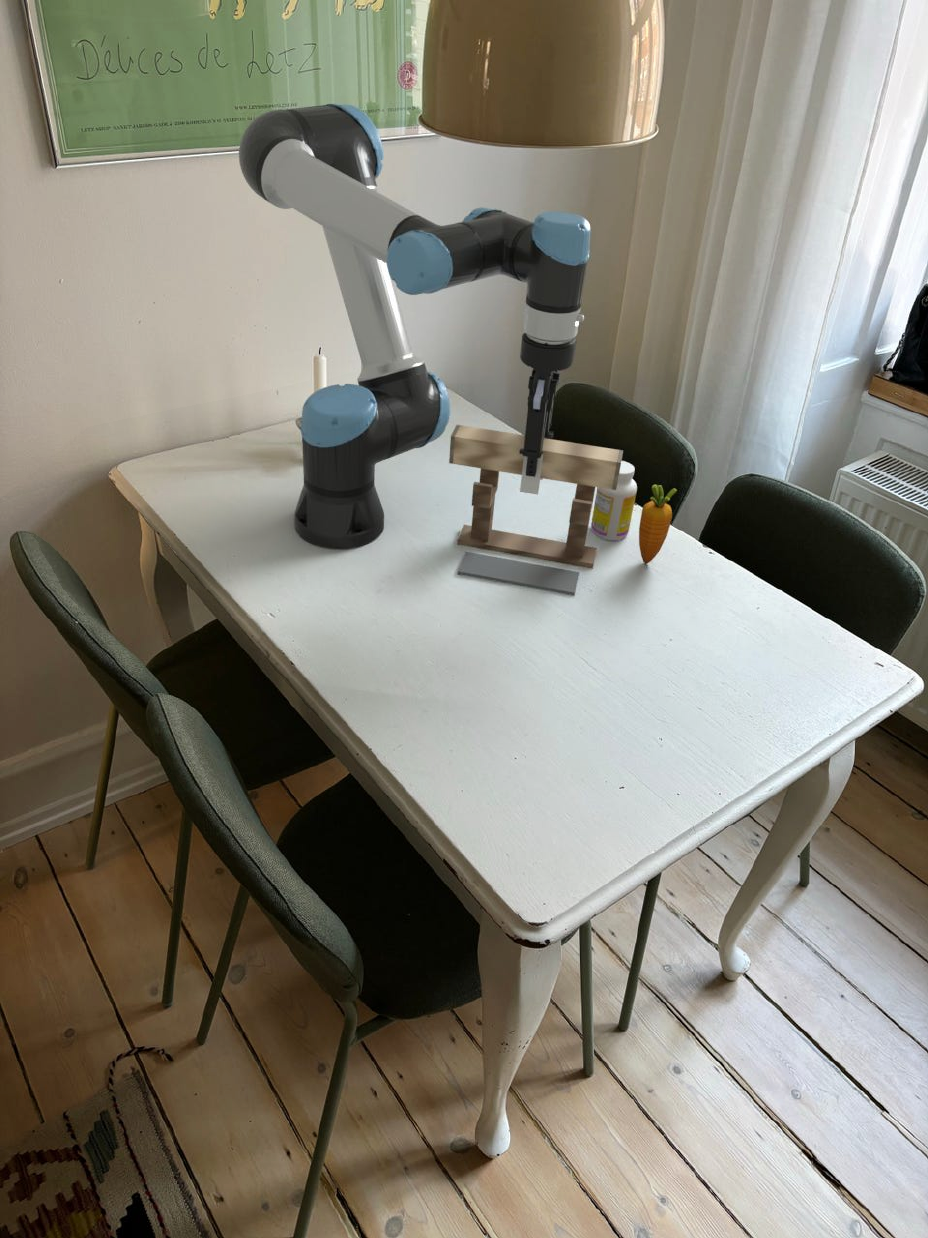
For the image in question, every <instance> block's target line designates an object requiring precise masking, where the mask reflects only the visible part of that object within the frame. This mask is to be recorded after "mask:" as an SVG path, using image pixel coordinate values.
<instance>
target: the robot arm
mask: <svg viewBox="0 0 928 1238" xmlns="http://www.w3.org/2000/svg"><path fill="white" fill-rule="evenodd" d="M242 134H243V135H242V136H241V139H240V141H239V148H238V149H239V150H238V160H239V162H238V163H239V167H240V170H241V173H242V176H243V178H244V180H245V181H246V183H247V184H248V186H249V187H250V189H252V191H253V192H254V194H257V195H258V196H259V197H260V198H261V199H263V200H264V201H266V202H268V203H269V204H271V205H272V206H274V207H277V208H279V209H282V210H287V209H293V210H295V211H297V212H299V214H302V215H304V216H305V217H307V218H309V219H310V220H312V221H313V222H315V223H317V224H319V225H320V226H322V230H323V233H324V236H325V241H326V244H327V247H328V251H329V254H330V258H331V262H332V264H333V268H334V272H335V275H336V278H337V282H338V285H339V289H340V293H341V296H342V299H343V302H344V307H345V309H346V313H347V316H348V320H349V323H350V327H351V331H352V333H353V338H354V341H355V344H356V347H357V351H358V355H359V358H360V362H361V364H362V368H361V369H362V370H361V372H360V374H359V375H358V377H357V379H356V381H357V384H353V383H345V384H344V385H343V384H342V385H340V384H338V383H337V384H332V385H328V386H326V387H322V388H320V389H318V390H316V391H315V392H313V393H312V394H311V395H310V396H308V397H307V399H306V400H305V402H304V403H303V406H302V411H301V422H300V433H301V437H302V469H303V470H302V472H303V486H302V489H301V492H300V494H299V497H298V500H297V503H296V506H295V508H294V530H295V531H296V533H297V534H298V535H299V537H301V539H302V540H305V541H306V542H308V543H310V544H313V545H315V546H319V547H321V548H328V549H338V550H339V549H353V548H358V547H361V546H366V545H368V544H369V543H371V542H373V541H375V540H377V539H378V538H379V537H380V536H381V534H383V531H384V528H385V510H384V508H383V505H382V503H381V500H380V497H379V495H378V491H377V488H376V486H375V485H376V484H375V480H376V479H375V473H376V472H375V471H376V464H377V463H381V462H383V461H386V460H388V459H389V460H390V459H391V458H393V457H394V458H395V457H396V456H399V455H402V454H404V453H406V452H409V451H412V450H414V449H421V448H423V447H425V446H427V444H430V443H431V442H434V441H436V440H437V439H438V438H440V437H441V436H442V435H443V433H444V432H445V431H446V427H447V426H448V424H449V421H450V417H451V402H450V396H449V392H448V390H447V387H446V385H445V383H444V382H443V381H440V377H439V376H438V375H437V374H435V373H433V372H431V371H428V370H427V367H426V363H425V361H424V360H423V359H422V358H420V357H418V356H417V355H415V354H414V352H413V350H412V346H411V343H410V338H409V335H408V331H407V328H406V324H405V320H404V316H403V313H402V309H401V305H400V302H399V297H398V295H397V291H396V288H397V289H399V290H400V291H401V293H404V294H406V295H409V296H416V295H423V294H425V295H426V294H427V295H429V294H434V293H436V292H439V291H441V290H444V289H448V288H452V287H455V286H460V285H462V284H467V283H471V282H475V281H479V280H483V279H487V278H491V277H495V276H499V275H500V276H501V275H502V276H506V277H508V278H512V279H513V280H516V281H520V282H522V283H527V285H526V295H525V296H526V297H525V300H524V301H525V304H524V311H523V320H522V321H523V322H522V331H523V334H522V336H521V344H520V345H521V346H520V352H519V353H520V354H519V356H520V360H521V362H522V363H523V364H524V365H525V366H527V367H530V368H532V371H531V375H529V378H528V379H529V380H528V385H527V388H528V390H529V391H528V396H527V414H526V423H525V432H524V435H525V440H524V449H520V451H519V454H523V456H524V460H523V469H522V475H521V480H520V489H519V492H520V493H525V494H532V495H536V496H537V495H538V494H539V491H540V490H539V489H540V484H541V483H540V482H541V481H543V479H544V478H540V476H541V468H542V460H543V451H542V449H543V442H544V438H547V439H553V437H554V431H551V430H550V429H551V426H552V416H553V408H554V401H555V400H556V396H557V390H558V386H559V383H560V377H561V373H559V372H560V371H565V370H568V369H569V368H571V367H572V366H573V364H574V361H575V355H576V347H577V339H576V336H577V335H578V331H579V323H582V322H584V321H585V316H584V314H582V313H581V307H582V301H583V299H582V296H583V291H584V285H585V279H586V274H587V268H588V262H589V259H590V253H591V252H590V245H591V244H590V242H591V225H590V223H589V220H587V219H586V218H585V217H583V216H581V215H578V214H576V213H571V212H570V213H567V212H564V211H545V212H542V213H539V214H538V215H537V216H536V217H535V218H534V221H533V222H532V221H529V220H527V219H523V218H521V217H518V216H515V215H512V214H510V213H508V212H506V211H503V210H501V209H496V208H493V209H492V208H488V207H477V208H475V209H472V210H471V211H470V213H469V214H467V215H466V216H465V217H464V218H463V219H462V221H460V222H455V223H451V224H446V225H441V224H436V223H435V222H432V221H431V220H428V219H426V218H425V217H423V216H422V215H419V214H417V213H415V212H414V211H412V210H410V209H409V208H407V207H405V206H403V205H401V204H399V203H398V202H396V201H393V200H392V199H390V198H388V197H387V196H385V195H383V194H381V193H380V192H378V191H379V188H378V185H377V182H376V179H377V178H378V177H379V176H380V174H381V172H382V169H383V163H382V161H383V159H384V149H383V143H382V140H381V136H380V134H379V131H378V129H377V127H376V125H375V124H374V122H373V120H372V119H371V118H370V116H368V114H366V113H365V111H362V110H361V109H360V108H359V107H358V106H357V107H356V106H354V105H352V104H335V103H327V104H323V105H314V106H313V105H312V106H306V107H297V108H287V109H282V108H281V109H274V110H269V111H266V112H265V113H262V114H260V115H259V116H257V117H255V118H254V119H253V120H252V121H251V122H250V123H249V124H248V126H247V127H246V129H245V130H244V132H243V133H242ZM394 283H395V284H394ZM395 285H396V286H395ZM395 287H396V288H395ZM580 313H581V314H580Z"/></svg>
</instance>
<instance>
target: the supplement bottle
mask: <svg viewBox="0 0 928 1238" xmlns="http://www.w3.org/2000/svg"><path fill="white" fill-rule="evenodd" d="M634 475H635V466H634V465H633V464H631V463H630V462H627V461H625V460H622V461H621V466H620V472H619V477H618V483H617V488H616V490H612V489H605V488H599V487H596V494H595V500H594V503H593V504H594V506H593V511H592V518H591V524H590V529H591V531H592V534H594V535H595V536H596V537H598V538H600V539H602V540H605V541H612V542H613V541H614V542H615V541H620V540H623V539H625V538H626V537H627V536H628V535H629V532H630V528H631V527H630V526H631V521H632V516H633V511H634V505H635V502H636V496H637V491H638V486H637V485H638V484H637V482H636V481H635V480H634V479H633V477H634Z"/></svg>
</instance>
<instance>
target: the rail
mask: <svg viewBox="0 0 928 1238" xmlns="http://www.w3.org/2000/svg"><path fill="white" fill-rule="evenodd" d="M524 440H525V434H519V433H512V432H506V431H500V430H493V429H488V428H487V429H486V428H481V427H474V426H469V425H462V424H461V425H460V424H456V426H455V428H454V429H453V430H452V433H451V435H450V441H449V443H450V446H449V459H448V463H449V464H451V465H458V466H464V467H471V468H476V469H481V468H482V469H488V470H494V471H499V473H500V472H501V473H508V474H513V475H520V476H522V469H523V460H524V456H523V454H519V451H520V449H524ZM542 451H543V460H542V468H541V476H540V478H543V479H545V480H552V481H558V482H563V483H569V484H576V485H577V484H581V485H587V486H593V487H595V488H597V487H599V488H605V489H612V490H616V488H617V483H618V477H619V472H620V466H621V461H623V460H622V459H623V454H624V450H621V449H617V448H616V449H615V448H608V447H602V446H596V445H592V444H591V445H590V444H582V443H578V442H577V443H576V442H571V441H564V440H559V439H558V440H557V439H553V438H547V437H545V438H544V442H543V449H542Z"/></svg>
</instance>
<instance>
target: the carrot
mask: <svg viewBox="0 0 928 1238" xmlns="http://www.w3.org/2000/svg"><path fill="white" fill-rule="evenodd" d="M651 491H652V494H653V496H651V497H650V500H651V501H648V502H646V503H645V504H644V505H642V509H641V515H640V521H639V528H638V547H639V553H640V557H641V560H642V562H643V563H644V564H647V565H648V564H649V563H650V562H652V560H654V558H656V556H657V555H658V554H659V552H660V551H661V549H662V547H663V545H664V543H665V541H666V538H667V536H668V534H669V533H668V532H669V529H670V526H671V522H672V518H673V512H672V511H673V510H672V507H671V505H670V504H668V503H667V502H669V501H670V500H671V498H672V497H673V496H674V495H675V494H676V493H677V491H678V490H677V489H676V488H672V489H671V490H670V491H668V493H667V494H666V496H665V495H664V489H663V486H662V485H661V484H660V485H658V484H653V485H652V486H651ZM664 496H665V497H664Z"/></svg>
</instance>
